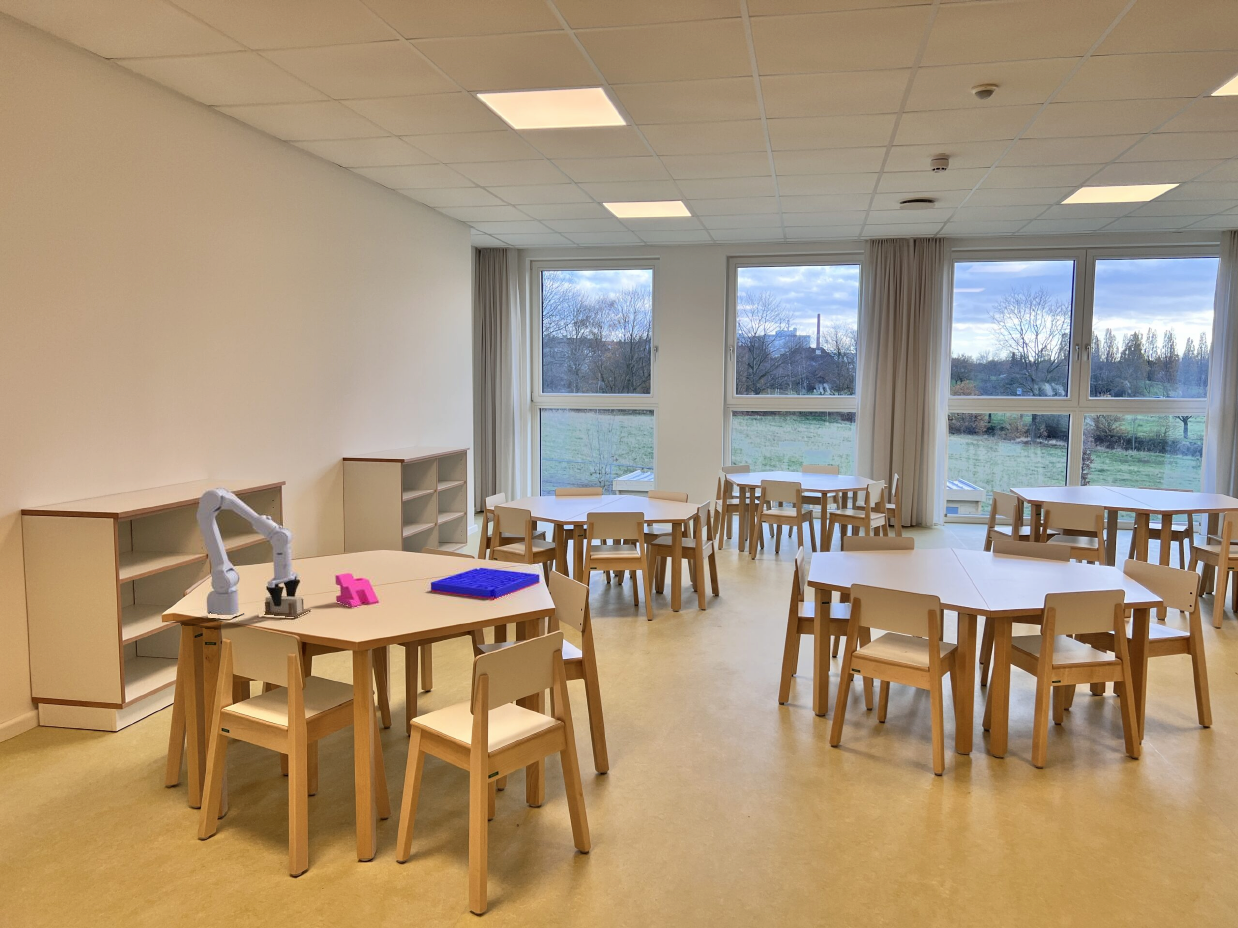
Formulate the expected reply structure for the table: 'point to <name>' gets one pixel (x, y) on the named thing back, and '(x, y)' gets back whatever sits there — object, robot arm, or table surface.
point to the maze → (485, 583)
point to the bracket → (355, 590)
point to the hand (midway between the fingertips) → (284, 603)
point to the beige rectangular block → (286, 604)
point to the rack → (290, 614)
